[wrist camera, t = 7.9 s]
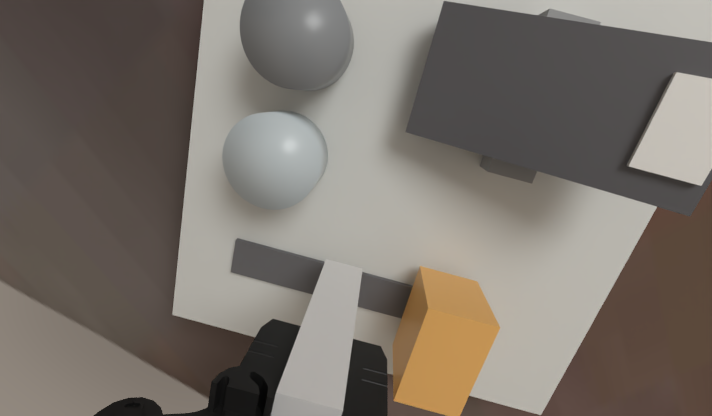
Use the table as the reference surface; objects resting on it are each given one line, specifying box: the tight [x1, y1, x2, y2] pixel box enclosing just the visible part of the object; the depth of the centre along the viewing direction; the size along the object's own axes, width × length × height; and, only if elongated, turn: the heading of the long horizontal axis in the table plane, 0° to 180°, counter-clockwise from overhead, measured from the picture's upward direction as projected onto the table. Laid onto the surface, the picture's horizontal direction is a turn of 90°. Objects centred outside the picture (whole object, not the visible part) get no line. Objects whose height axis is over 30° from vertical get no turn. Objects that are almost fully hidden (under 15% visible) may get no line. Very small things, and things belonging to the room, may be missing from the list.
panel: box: [172, 0, 712, 415], centre depth 15 cm, size 18×18×4 cm
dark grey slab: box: [405, 1, 712, 216], centre depth 10 cm, size 8×4×1 cm, turn 76°
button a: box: [240, 0, 354, 91], centre depth 11 cm, size 3×3×2 cm
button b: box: [222, 111, 328, 210], centre depth 12 cm, size 3×3×2 cm
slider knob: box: [392, 266, 500, 416], centre depth 13 cm, size 2×4×3 cm, turn 166°
